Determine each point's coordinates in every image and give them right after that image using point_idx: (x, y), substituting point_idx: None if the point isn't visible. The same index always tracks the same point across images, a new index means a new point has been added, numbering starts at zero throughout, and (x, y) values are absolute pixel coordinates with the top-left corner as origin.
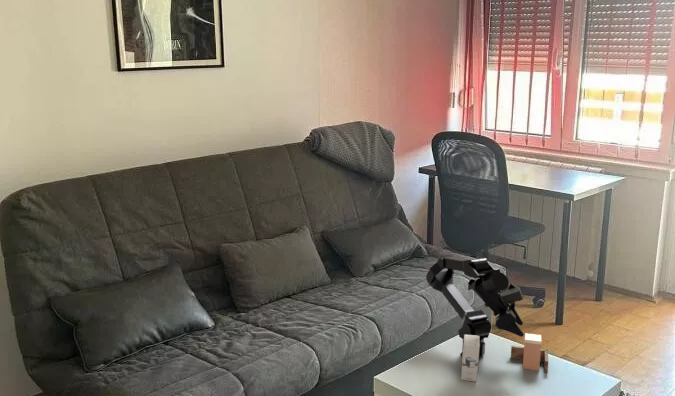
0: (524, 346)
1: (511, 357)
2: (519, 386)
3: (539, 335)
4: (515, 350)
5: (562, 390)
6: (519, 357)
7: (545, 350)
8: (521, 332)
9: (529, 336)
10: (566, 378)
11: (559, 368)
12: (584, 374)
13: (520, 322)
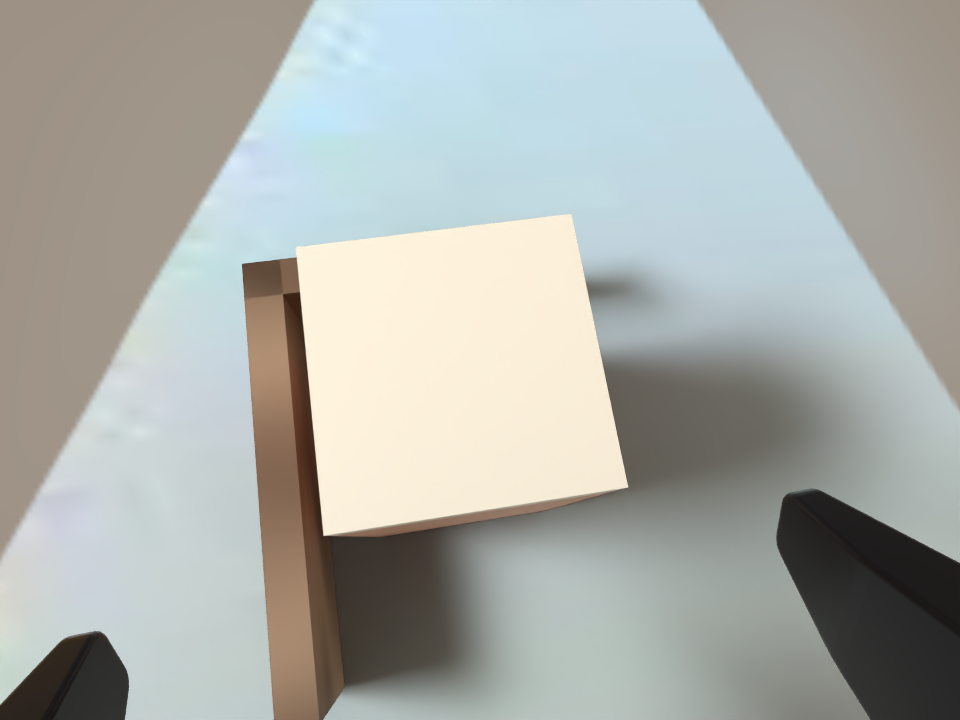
0: (565, 501)
1: (342, 678)
2: (923, 480)
3: (328, 270)
4: (322, 652)
5: (787, 142)
6: (333, 586)
7: (269, 286)
8: (904, 548)
9: (450, 430)
10: (560, 128)
11: (390, 193)
12: (419, 9)
13: (90, 715)
